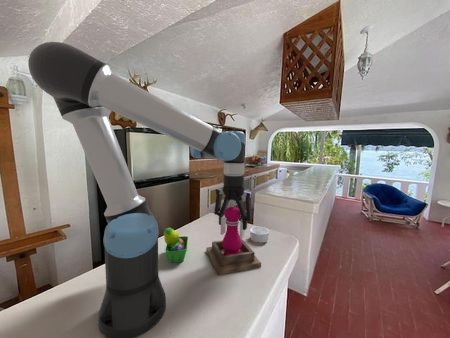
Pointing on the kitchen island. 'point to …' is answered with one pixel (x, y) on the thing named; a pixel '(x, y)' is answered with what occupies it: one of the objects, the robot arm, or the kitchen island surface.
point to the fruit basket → (175, 245)
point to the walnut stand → (232, 258)
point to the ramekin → (259, 234)
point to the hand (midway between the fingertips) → (232, 235)
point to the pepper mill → (232, 231)
